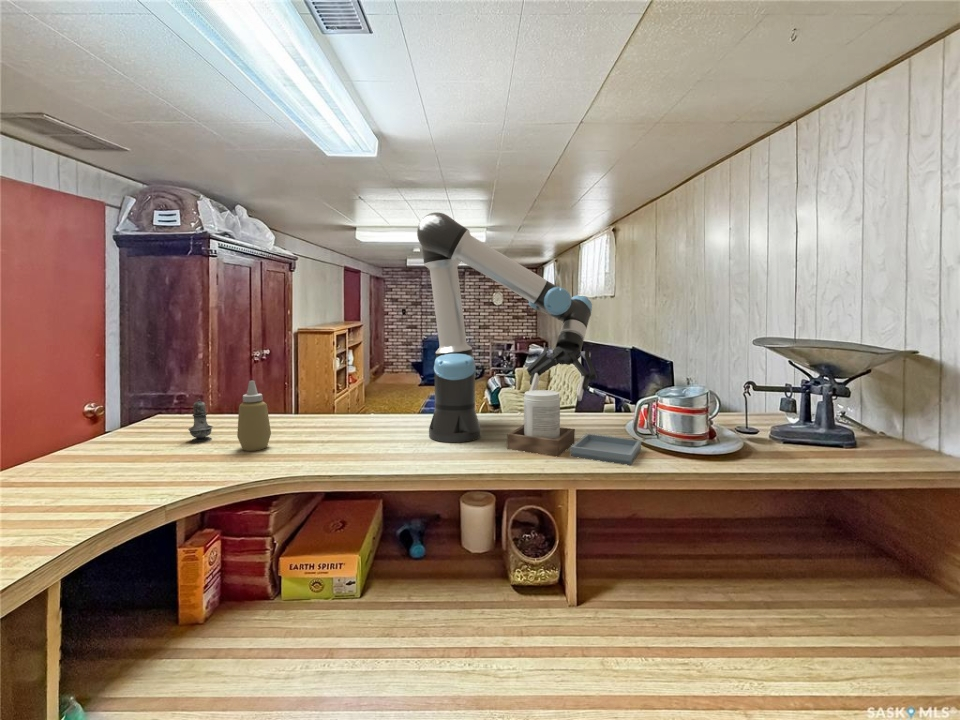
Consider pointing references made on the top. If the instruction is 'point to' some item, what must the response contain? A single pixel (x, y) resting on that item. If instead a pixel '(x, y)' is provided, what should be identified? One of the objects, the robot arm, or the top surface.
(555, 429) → the supplement tub
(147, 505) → the top surface
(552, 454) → the tray
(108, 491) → the top surface
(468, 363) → the robot arm
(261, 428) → the squeeze bottle
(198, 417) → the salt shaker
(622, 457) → the tray
